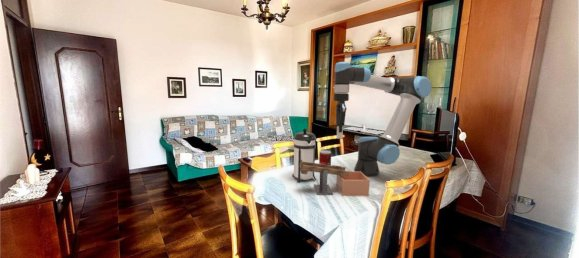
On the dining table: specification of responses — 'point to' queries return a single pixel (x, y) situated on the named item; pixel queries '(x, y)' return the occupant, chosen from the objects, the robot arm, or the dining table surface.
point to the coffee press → (304, 153)
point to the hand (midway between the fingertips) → (339, 138)
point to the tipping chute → (322, 168)
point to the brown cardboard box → (353, 184)
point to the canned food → (325, 157)
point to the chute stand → (323, 185)
